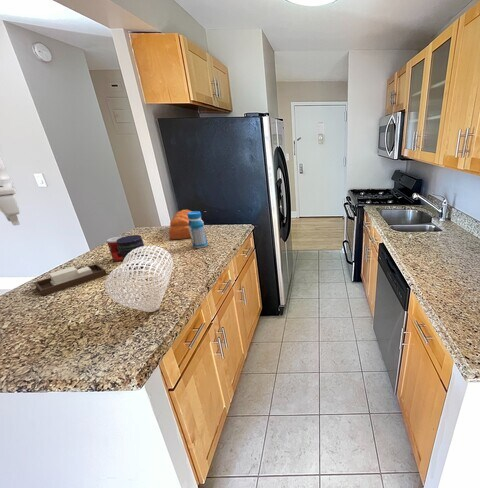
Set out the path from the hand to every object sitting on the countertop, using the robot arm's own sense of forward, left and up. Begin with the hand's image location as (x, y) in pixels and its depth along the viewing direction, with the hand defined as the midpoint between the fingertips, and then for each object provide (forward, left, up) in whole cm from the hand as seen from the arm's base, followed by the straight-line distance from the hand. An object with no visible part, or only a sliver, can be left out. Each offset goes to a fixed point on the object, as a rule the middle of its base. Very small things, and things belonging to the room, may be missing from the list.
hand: (14, 222), depth 104 cm
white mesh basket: (+18, -64, -27) cm, 72 cm away
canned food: (+30, -2, -27) cm, 41 cm away
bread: (+72, +12, -27) cm, 78 cm away
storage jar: (+30, -20, -27) cm, 45 cm away
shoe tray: (+8, -11, -27) cm, 30 cm away
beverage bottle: (+63, -20, -27) cm, 71 cm away
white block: (+8, -11, -26) cm, 30 cm away
